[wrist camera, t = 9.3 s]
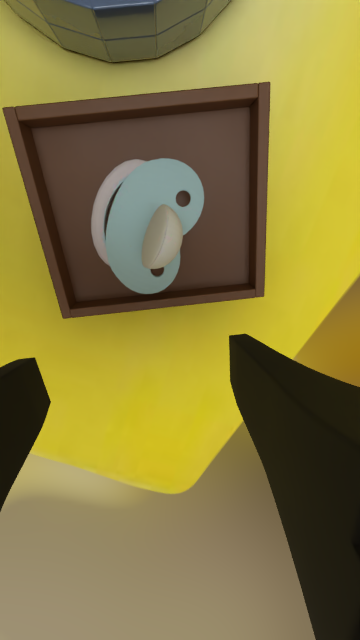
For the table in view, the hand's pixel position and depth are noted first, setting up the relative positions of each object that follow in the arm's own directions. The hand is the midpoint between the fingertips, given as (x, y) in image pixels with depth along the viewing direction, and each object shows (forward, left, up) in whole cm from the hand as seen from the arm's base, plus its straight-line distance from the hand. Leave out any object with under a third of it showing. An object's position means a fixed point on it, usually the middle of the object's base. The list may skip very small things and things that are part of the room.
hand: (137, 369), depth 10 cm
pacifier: (0, +5, -10) cm, 11 cm away
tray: (+1, +5, -10) cm, 11 cm away
